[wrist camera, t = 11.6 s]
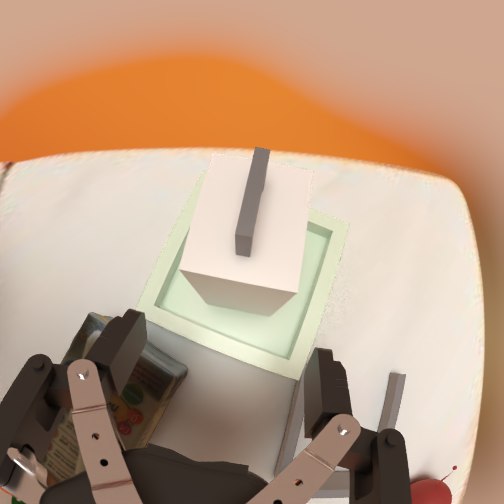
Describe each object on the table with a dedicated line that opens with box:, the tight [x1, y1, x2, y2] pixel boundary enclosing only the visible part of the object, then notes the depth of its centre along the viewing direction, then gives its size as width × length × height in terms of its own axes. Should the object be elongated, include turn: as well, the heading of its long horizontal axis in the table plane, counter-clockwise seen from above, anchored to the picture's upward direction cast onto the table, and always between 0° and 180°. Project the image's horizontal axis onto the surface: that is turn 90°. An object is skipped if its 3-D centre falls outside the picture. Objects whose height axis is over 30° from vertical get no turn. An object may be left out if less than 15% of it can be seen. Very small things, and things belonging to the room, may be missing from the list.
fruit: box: [410, 466, 457, 504], centre depth 15 cm, size 6×6×8 cm
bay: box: [274, 364, 406, 498], centre depth 19 cm, size 9×10×4 cm
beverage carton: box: [43, 312, 188, 488], centre depth 17 cm, size 8×19×7 cm, turn 150°
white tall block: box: [179, 147, 313, 317], centre depth 17 cm, size 5×6×13 cm
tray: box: [135, 170, 350, 381], centre depth 23 cm, size 13×13×2 cm
